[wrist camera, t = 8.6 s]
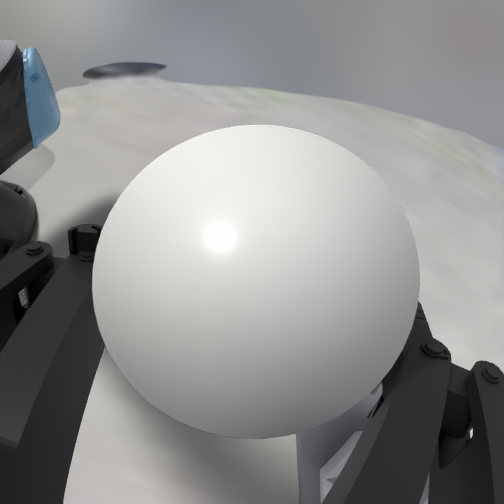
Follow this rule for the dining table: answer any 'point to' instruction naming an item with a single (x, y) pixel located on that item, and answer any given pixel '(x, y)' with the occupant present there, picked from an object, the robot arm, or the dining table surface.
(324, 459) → the octagonal socket base
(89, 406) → the dining table surface
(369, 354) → the white glossy rounded part
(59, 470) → the robot arm
